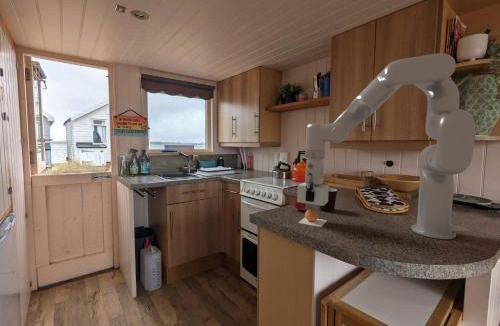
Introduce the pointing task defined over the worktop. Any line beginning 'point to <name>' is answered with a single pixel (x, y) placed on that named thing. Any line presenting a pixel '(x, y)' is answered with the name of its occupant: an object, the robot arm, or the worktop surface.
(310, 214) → the ball
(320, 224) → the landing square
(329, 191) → the coffee mug
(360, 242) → the worktop surface
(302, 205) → the onion
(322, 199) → the pale sage box
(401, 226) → the worktop surface
